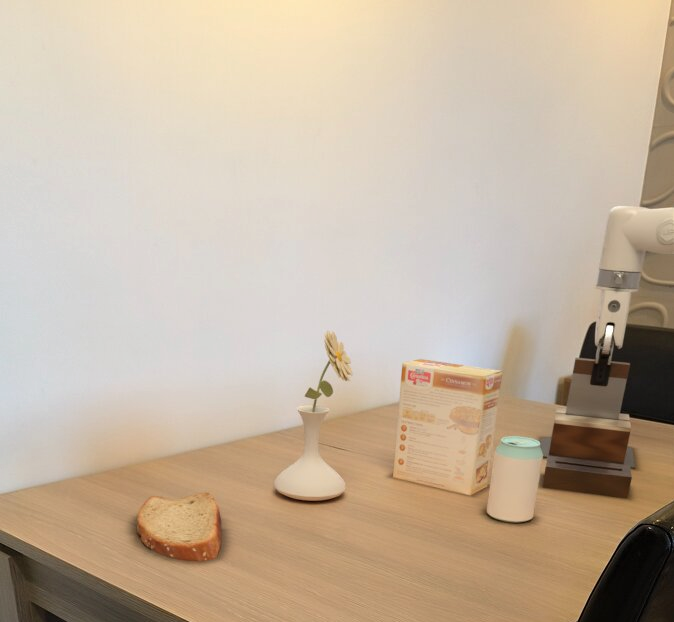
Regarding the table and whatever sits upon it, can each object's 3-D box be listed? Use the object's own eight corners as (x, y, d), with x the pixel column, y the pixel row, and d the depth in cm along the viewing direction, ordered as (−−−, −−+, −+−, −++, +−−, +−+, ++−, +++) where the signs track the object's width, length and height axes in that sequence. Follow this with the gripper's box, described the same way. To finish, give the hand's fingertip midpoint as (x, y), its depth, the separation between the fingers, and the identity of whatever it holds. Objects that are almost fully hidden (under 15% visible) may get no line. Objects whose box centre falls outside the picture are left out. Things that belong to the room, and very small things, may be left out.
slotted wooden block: (625, 487, 144) (630, 465, 143) (627, 500, 138) (632, 477, 136) (544, 477, 148) (547, 455, 146) (541, 488, 141) (545, 466, 139)
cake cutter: (617, 423, 161) (629, 363, 156) (617, 426, 159) (630, 364, 154) (564, 417, 163) (575, 357, 158) (564, 420, 161) (575, 359, 156)
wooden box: (631, 449, 169) (639, 413, 165) (634, 470, 155) (643, 431, 152) (541, 439, 173) (547, 403, 170) (537, 458, 159) (543, 420, 156)
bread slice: (199, 567, 104) (199, 540, 102) (92, 536, 111) (90, 509, 109) (277, 527, 118) (278, 502, 116) (177, 501, 125) (176, 478, 124)
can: (526, 528, 123) (539, 449, 118) (480, 519, 125) (491, 442, 120) (536, 515, 129) (549, 439, 123) (492, 506, 131) (503, 432, 126)
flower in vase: (315, 512, 124) (322, 340, 114) (258, 494, 130) (261, 330, 120) (365, 493, 134) (376, 333, 123) (310, 477, 140) (317, 323, 129)
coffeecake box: (488, 487, 140) (504, 370, 132) (470, 497, 135) (485, 375, 126) (411, 469, 147) (421, 357, 139) (391, 478, 142) (400, 362, 134)
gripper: (641, 286, 142) (619, 394, 150) (637, 280, 156) (617, 379, 164) (596, 282, 144) (577, 389, 152) (596, 277, 158) (579, 375, 166)
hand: (598, 383), depth 158 cm, fingers closed on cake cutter, 2 cm apart
